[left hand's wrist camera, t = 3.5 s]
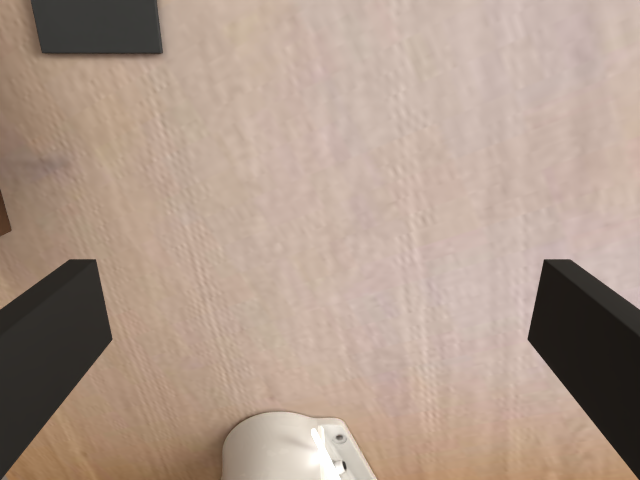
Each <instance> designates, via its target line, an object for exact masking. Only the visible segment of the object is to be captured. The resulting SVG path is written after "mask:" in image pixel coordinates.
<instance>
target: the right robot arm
mask: <svg viewBox="0 0 640 480" xmlns="http://www.w3.org/2000/svg"><path fill="white" fill-rule="evenodd" d="M338 435H341V436H338ZM222 463H223V467H222V477H221V480H377V478H376V477H375V475H374V473H373V471H372V470H371V468H370V466H369V464H368V463H367V461H366V459H365V457H364V456H363V454H362V452H361V450H360V449H359V447H358V445H357V443H356V442H355V440H354V438H353V436H352V435H351V433H350V431H349V429H348V427H347V426H346V424H345V422H344V421H343V420H341V419H338V418H312V417H308V416H304V415H301V414H297V413H292V412H267V413H262V414H258V415H255V416H253V417H250V418H248V419H246V420H244V421H242V422H241V423H239V424H238V425H237V426H236V427H235V428H234V429H233V430H232V431H231V432H230V433H229V434H228V436H227V438H226V440H225V442H224V445H223V449H222Z"/></svg>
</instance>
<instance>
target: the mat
mask: <svg viewBox="0 0 640 480" xmlns="http://www.w3.org/2000/svg"><path fill="white" fill-rule="evenodd" d="M31 4H32V9H33V13H34V18H35V22H36V27H37V32H38V36H39V41H40V46H41V50H42V53H163V50H162V42H161V34H160V26H159V17H158V9H157V1H156V0H31Z"/></svg>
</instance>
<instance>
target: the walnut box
mask: <svg viewBox="0 0 640 480" xmlns="http://www.w3.org/2000/svg"><path fill="white" fill-rule="evenodd" d="M10 231H11V227H10V223H9V220H8V216H7V212H6V209H5V205H4V201H3V198H2V194H1V191H0V236H2V235H4V234H6V233H8V232H10Z"/></svg>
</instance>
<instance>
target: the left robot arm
mask: <svg viewBox="0 0 640 480" xmlns="http://www.w3.org/2000/svg"><path fill="white" fill-rule="evenodd" d="M111 341H112V335H111V330H110V325H109V320H108V315H107V311H106V306H105V301H104V296H103V291H102V286H101V282H100V277H99V272H98V267H97V262H96V259H70V260H68V261H67V262H66V263H64V264H63V265H61V266H60V267H59V268H57V269H56V270H55V271H53V272H52V273H50V274H49V275H48V276H46V277H45V278H43V279H42V280H41V281H39V282H38V283H37V284H35V285H34V286H32V287H31V288H30V289H28V290H27V291H25V292H24V293H23V294H21V295H20V296H19V297H17V298H16V299H14V300H13V301H12V302H10V303H9V304H8V305H6V306H5V307H3V308H2V309H1V310H0V480H1V479H2V478H3V477H4V475H5V474H6V473H7V472H8V470H9V469H10V468H11V466H12V465H13V464H14V463H15V461H16V460H17V459H18V458H19V456H20V455H21V454H22V453H23V451H24V450H25V449H26V448H27V446H28V445H29V444H30V443H31V441H32V440H33V439H34V438H35V436H36V435H37V434H38V433H39V431H40V430H41V429H42V427H43V426H44V425H45V424H46V422H47V421H48V420H49V419H50V417H51V416H52V415H53V414H54V412H55V411H56V410H57V409H58V407H59V406H60V405H61V404H62V402H63V401H64V400H65V399H66V397H67V396H68V395H69V394H70V392H71V391H72V390H73V388H74V387H75V386H76V385H77V383H78V382H79V381H80V380H81V378H82V377H83V376H84V375H85V373H86V372H87V371H88V370H89V368H90V367H91V366H92V365H93V363H94V362H95V361H96V360H97V358H98V357H99V356H100V355H101V353H102V352H103V351H104V349H105V348H106V347H107V346H108V344H109V343H110V342H111ZM528 341H529V342H530V343H531V344H532V346H533V347H534V348H535V349H536V351H537V352H538V353H539V355H540V356H541V357H542V358H543V360H544V361H545V362H546V363H547V365H548V366H549V367H550V368H551V370H552V371H553V372H554V373H555V375H556V376H557V377H558V378H559V380H560V381H561V382H562V383H563V385H564V386H565V387H566V388H567V390H568V391H569V392H570V394H571V395H572V396H573V397H574V399H575V400H576V401H577V402H578V404H579V405H580V406H581V407H582V409H583V410H584V411H585V412H586V414H587V415H588V416H589V417H590V419H591V420H592V421H593V422H594V424H595V425H596V426H597V427H598V429H599V430H600V431H601V433H602V434H603V435H604V436H605V438H606V439H607V440H608V441H609V443H610V444H611V445H612V446H613V448H614V449H615V450H616V451H617V453H618V454H619V455H620V456H621V458H622V459H623V460H624V461H625V463H626V464H627V465H628V466H629V468H630V469H631V470H632V472H633V473H634V474H635V475H636V477H637V478H638V479H639V480H640V310H639V309H638V308H637V307H635V306H634V305H632V304H631V303H630V302H628V301H627V300H626V299H624V298H623V297H621V296H620V295H619V294H617V293H616V292H615V291H613V290H612V289H610V288H609V287H608V286H606V285H605V284H603V283H602V282H601V281H599V280H598V279H597V278H595V277H594V276H592V275H591V274H590V273H588V272H587V271H585V270H584V269H583V268H581V267H580V266H579V265H577V264H576V263H574V262H573V261H572V260H570V259H544V262H543V267H542V272H541V277H540V282H539V286H538V291H537V296H536V301H535V306H534V311H533V315H532V320H531V325H530V330H529V335H528Z"/></svg>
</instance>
